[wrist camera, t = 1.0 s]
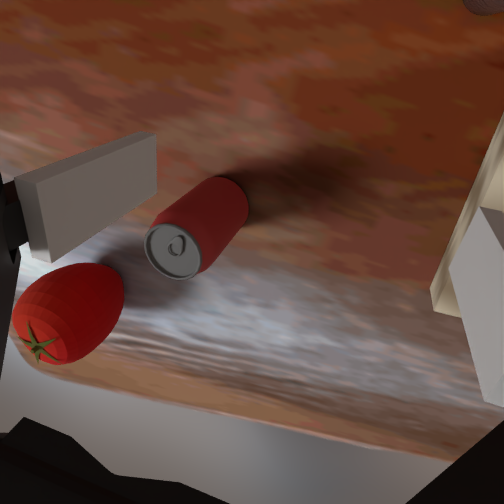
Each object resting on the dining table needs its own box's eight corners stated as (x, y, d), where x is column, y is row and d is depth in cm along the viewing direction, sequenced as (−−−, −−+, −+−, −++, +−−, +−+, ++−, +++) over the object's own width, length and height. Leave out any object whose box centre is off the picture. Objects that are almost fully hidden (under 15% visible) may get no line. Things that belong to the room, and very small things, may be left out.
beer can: (261, 197, 40) (219, 248, 30) (234, 240, 44) (189, 298, 34) (210, 163, 40) (151, 203, 30) (187, 209, 44) (129, 258, 34)
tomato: (118, 326, 58) (49, 398, 46) (60, 278, 57) (-25, 340, 45) (155, 284, 51) (86, 356, 39) (91, 229, 50) (-1, 286, 38)
